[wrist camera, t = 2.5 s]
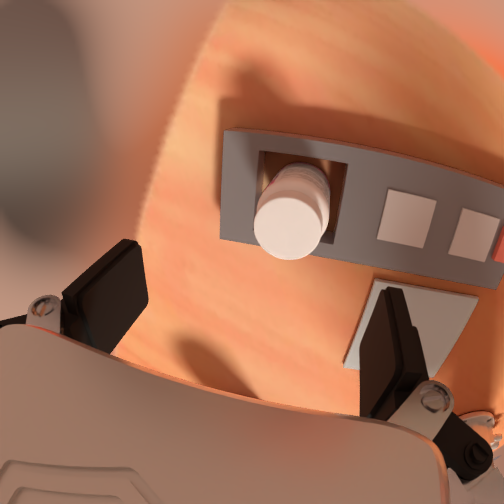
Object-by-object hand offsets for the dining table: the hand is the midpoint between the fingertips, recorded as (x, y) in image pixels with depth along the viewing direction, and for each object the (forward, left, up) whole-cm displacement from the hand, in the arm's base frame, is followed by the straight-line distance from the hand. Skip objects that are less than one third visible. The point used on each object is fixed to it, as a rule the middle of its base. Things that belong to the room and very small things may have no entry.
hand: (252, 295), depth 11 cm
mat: (-14, +13, -15) cm, 25 cm away
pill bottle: (0, 0, -16) cm, 16 cm away
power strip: (-7, 0, -16) cm, 17 cm away
